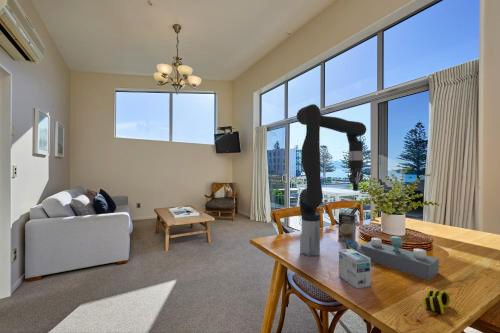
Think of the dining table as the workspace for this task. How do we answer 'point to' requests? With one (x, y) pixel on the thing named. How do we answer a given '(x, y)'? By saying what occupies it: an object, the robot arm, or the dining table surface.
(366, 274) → the light bulb box
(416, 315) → the dining table surface
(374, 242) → the inner knob
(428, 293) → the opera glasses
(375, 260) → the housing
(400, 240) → the middle knob
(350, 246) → the label tape cartridge
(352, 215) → the coffee box
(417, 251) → the outer knob
